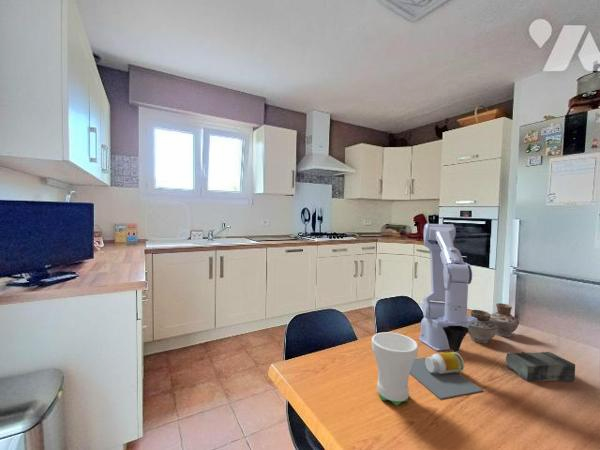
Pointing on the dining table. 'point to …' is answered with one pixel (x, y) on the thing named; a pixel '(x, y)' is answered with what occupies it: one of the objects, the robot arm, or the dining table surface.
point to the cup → (394, 364)
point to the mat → (442, 381)
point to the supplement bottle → (445, 363)
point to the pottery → (492, 324)
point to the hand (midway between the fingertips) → (453, 349)
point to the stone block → (541, 366)
